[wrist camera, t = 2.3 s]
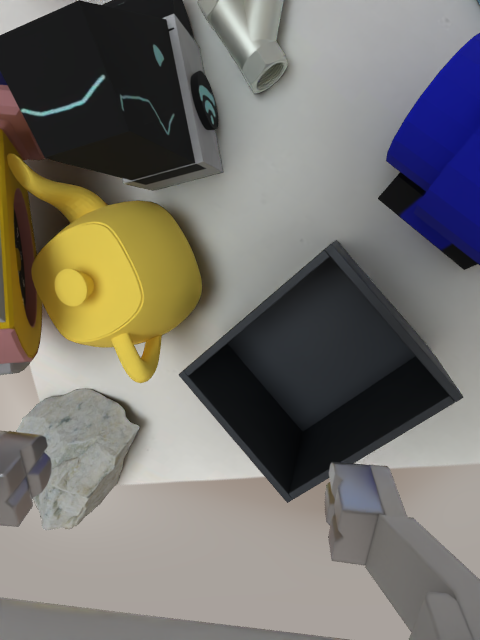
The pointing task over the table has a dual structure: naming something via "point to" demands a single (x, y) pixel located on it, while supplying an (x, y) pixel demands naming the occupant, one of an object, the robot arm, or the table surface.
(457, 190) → the alarm clock
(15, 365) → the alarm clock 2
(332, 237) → the table surface
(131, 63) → the decorative object
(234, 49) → the pipe fitting
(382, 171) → the table surface
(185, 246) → the teapot
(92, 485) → the rock
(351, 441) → the trash bin
